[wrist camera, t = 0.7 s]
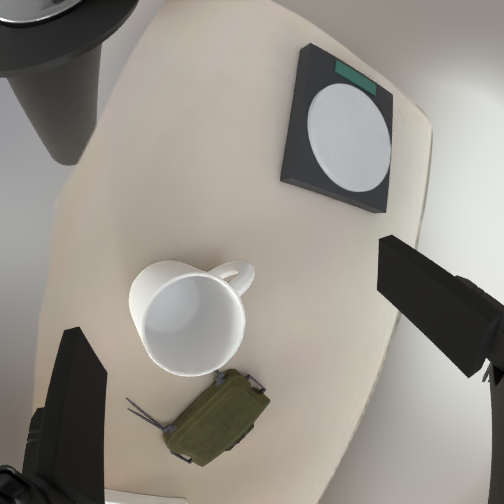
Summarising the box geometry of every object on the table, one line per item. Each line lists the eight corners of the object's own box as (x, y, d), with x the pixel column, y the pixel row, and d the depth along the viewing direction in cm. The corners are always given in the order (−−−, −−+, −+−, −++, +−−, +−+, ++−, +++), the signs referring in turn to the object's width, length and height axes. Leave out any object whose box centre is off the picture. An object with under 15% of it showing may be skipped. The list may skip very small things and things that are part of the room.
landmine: (209, 477, 33) (115, 422, 28) (202, 465, 35) (113, 410, 30) (284, 404, 37) (205, 333, 32) (273, 396, 39) (198, 326, 34)
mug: (209, 226, 34) (255, 226, 25) (243, 290, 36) (295, 311, 27) (112, 286, 30) (119, 312, 21) (155, 350, 32) (180, 395, 23)
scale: (300, 49, 38) (313, 40, 35) (382, 98, 45) (396, 93, 43) (279, 180, 38) (295, 177, 35) (374, 213, 45) (390, 212, 42)
